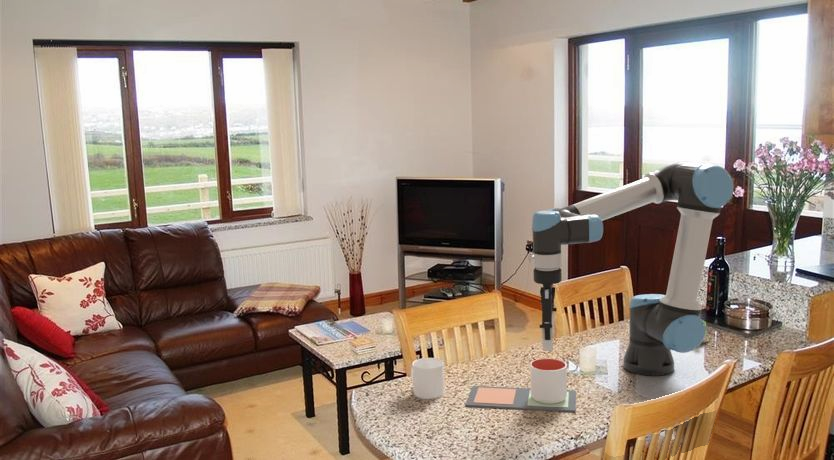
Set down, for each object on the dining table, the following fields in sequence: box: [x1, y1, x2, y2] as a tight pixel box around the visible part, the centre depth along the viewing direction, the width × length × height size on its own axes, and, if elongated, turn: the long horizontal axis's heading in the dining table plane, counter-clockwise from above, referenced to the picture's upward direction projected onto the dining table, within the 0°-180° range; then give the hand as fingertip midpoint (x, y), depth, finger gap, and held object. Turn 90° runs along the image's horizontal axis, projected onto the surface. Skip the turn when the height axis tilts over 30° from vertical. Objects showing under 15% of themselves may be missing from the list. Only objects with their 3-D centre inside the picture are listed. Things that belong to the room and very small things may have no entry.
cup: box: [529, 357, 568, 404], centre depth 204 cm, size 10×10×10 cm
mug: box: [410, 357, 445, 400], centre depth 214 cm, size 12×9×9 cm
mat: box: [465, 385, 577, 413], centre depth 207 cm, size 30×14×1 cm, turn 77°
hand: (548, 342), depth 203 cm, fingers open, 13 cm apart
